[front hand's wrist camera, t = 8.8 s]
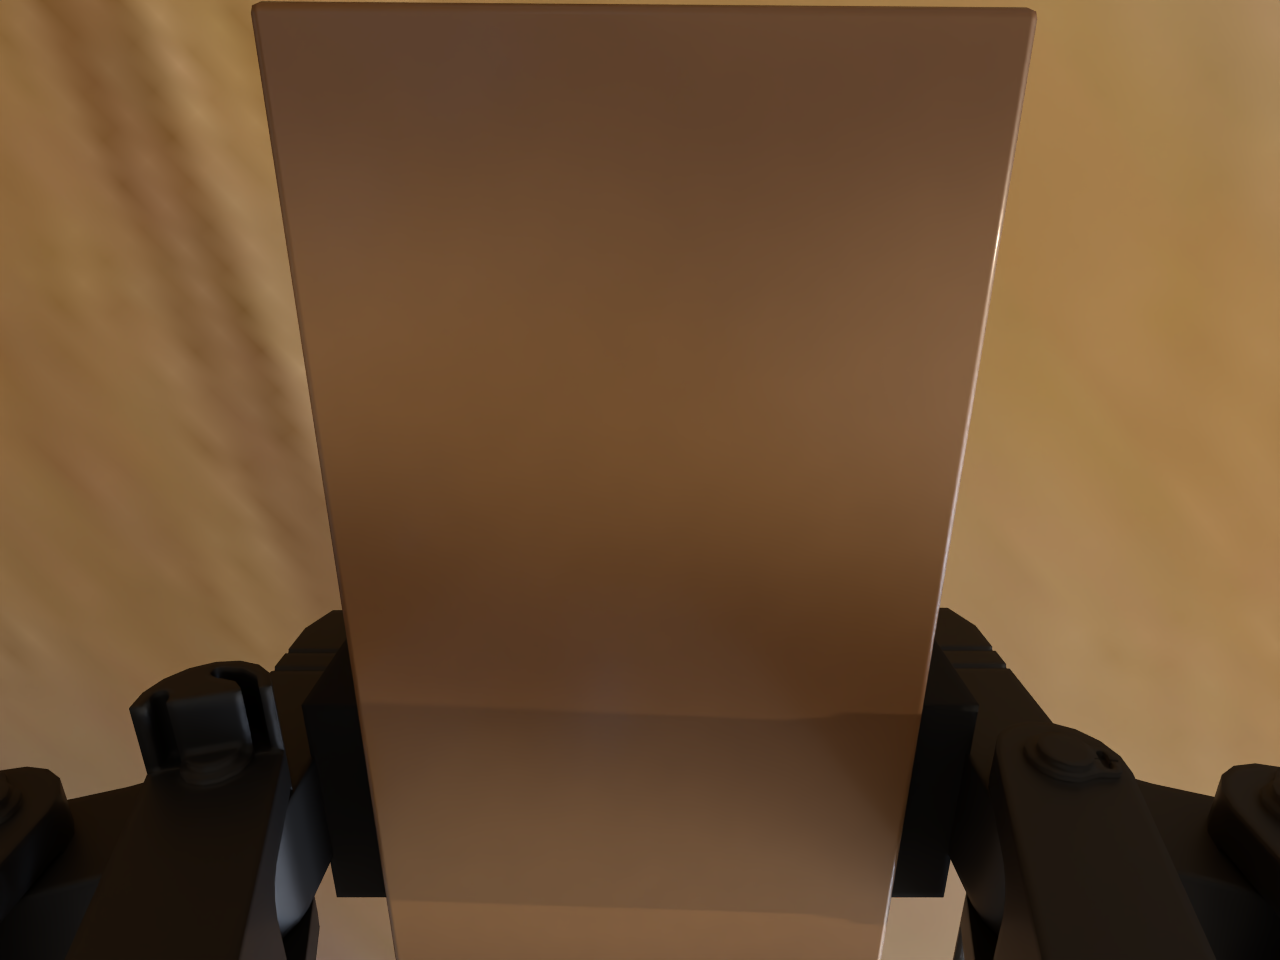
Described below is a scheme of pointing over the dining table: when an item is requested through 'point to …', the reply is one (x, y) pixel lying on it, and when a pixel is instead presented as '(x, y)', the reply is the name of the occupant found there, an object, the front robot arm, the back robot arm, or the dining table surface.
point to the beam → (641, 444)
